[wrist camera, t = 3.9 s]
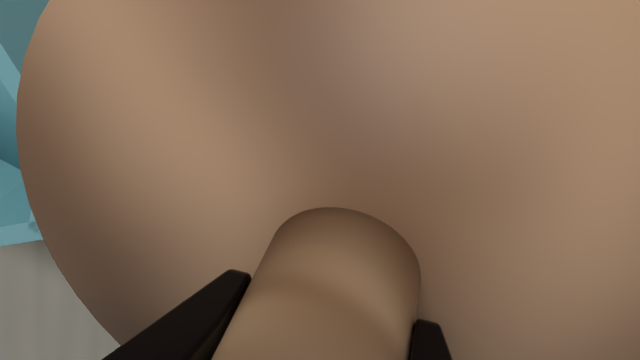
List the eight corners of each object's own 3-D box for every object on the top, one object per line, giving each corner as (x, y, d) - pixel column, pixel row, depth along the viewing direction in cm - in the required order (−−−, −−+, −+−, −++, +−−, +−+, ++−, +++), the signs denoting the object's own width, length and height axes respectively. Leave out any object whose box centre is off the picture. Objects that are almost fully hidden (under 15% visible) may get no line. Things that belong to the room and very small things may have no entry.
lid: (211, 440, 18) (120, 645, 13) (-90, 6, 11) (-451, 138, 7) (755, 460, 12) (895, 820, 8) (789, -373, 6) (1693, -887, 1)
